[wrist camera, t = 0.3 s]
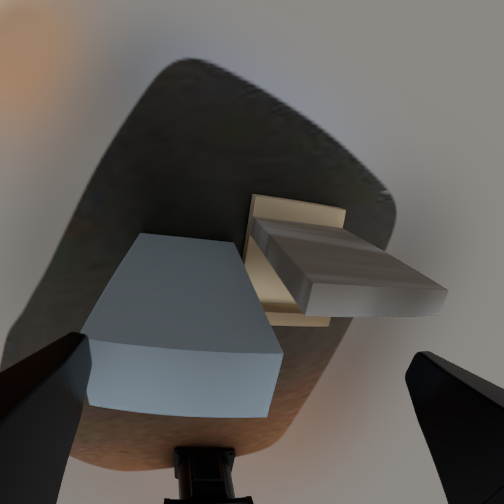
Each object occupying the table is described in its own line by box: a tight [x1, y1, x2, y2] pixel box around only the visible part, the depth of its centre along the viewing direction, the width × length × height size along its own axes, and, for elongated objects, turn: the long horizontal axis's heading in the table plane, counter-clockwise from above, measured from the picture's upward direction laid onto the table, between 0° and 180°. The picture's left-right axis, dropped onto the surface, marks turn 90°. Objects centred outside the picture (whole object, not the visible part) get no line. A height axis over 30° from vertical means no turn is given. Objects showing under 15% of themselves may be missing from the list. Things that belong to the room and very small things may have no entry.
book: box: [80, 233, 283, 418], centre depth 15 cm, size 3×6×13 cm, turn 81°
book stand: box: [242, 194, 448, 326], centre depth 17 cm, size 9×6×12 cm
